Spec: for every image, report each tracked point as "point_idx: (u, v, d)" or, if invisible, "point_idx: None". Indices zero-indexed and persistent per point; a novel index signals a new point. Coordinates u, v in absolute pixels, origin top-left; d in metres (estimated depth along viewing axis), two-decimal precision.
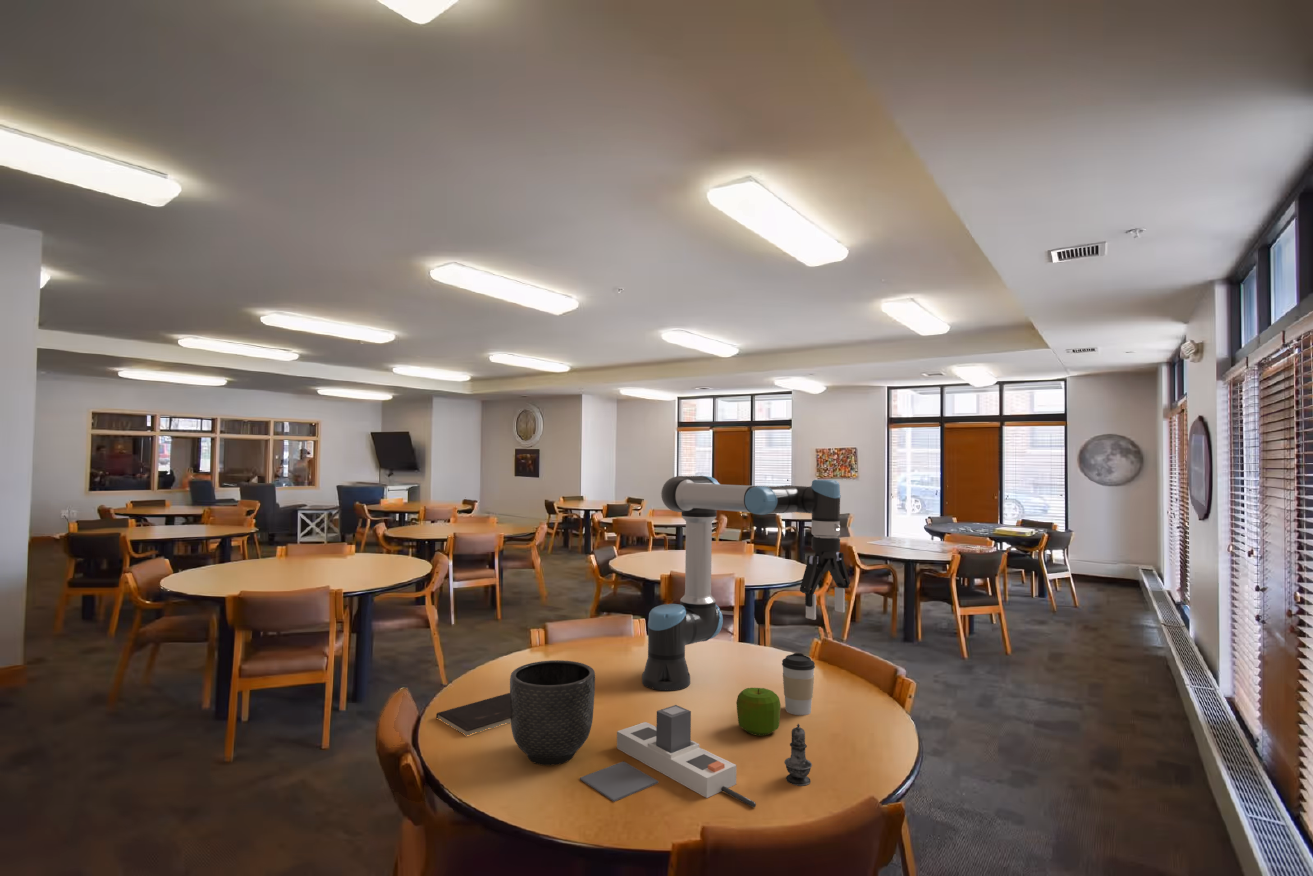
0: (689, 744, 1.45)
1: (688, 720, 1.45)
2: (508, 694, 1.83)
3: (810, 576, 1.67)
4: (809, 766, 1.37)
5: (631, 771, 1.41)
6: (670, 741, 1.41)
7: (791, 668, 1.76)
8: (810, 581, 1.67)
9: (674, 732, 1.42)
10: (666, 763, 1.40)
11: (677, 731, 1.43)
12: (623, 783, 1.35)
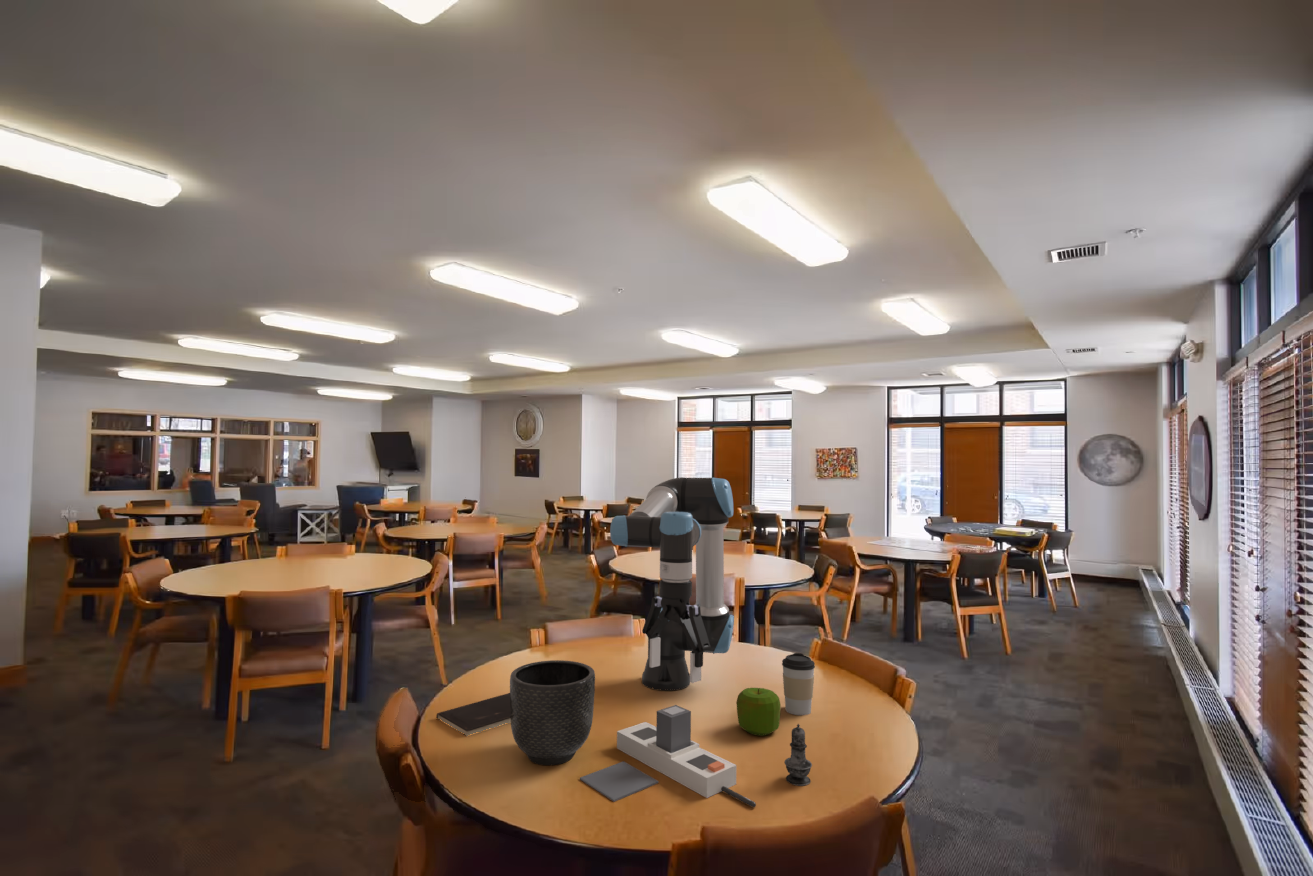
0: (689, 744, 1.45)
1: (688, 720, 1.45)
2: (508, 694, 1.83)
3: None
4: (809, 766, 1.37)
5: (631, 771, 1.41)
6: (670, 741, 1.41)
7: (791, 668, 1.76)
8: (646, 622, 1.52)
9: (674, 732, 1.42)
10: (666, 763, 1.40)
11: (677, 731, 1.43)
12: (623, 783, 1.35)
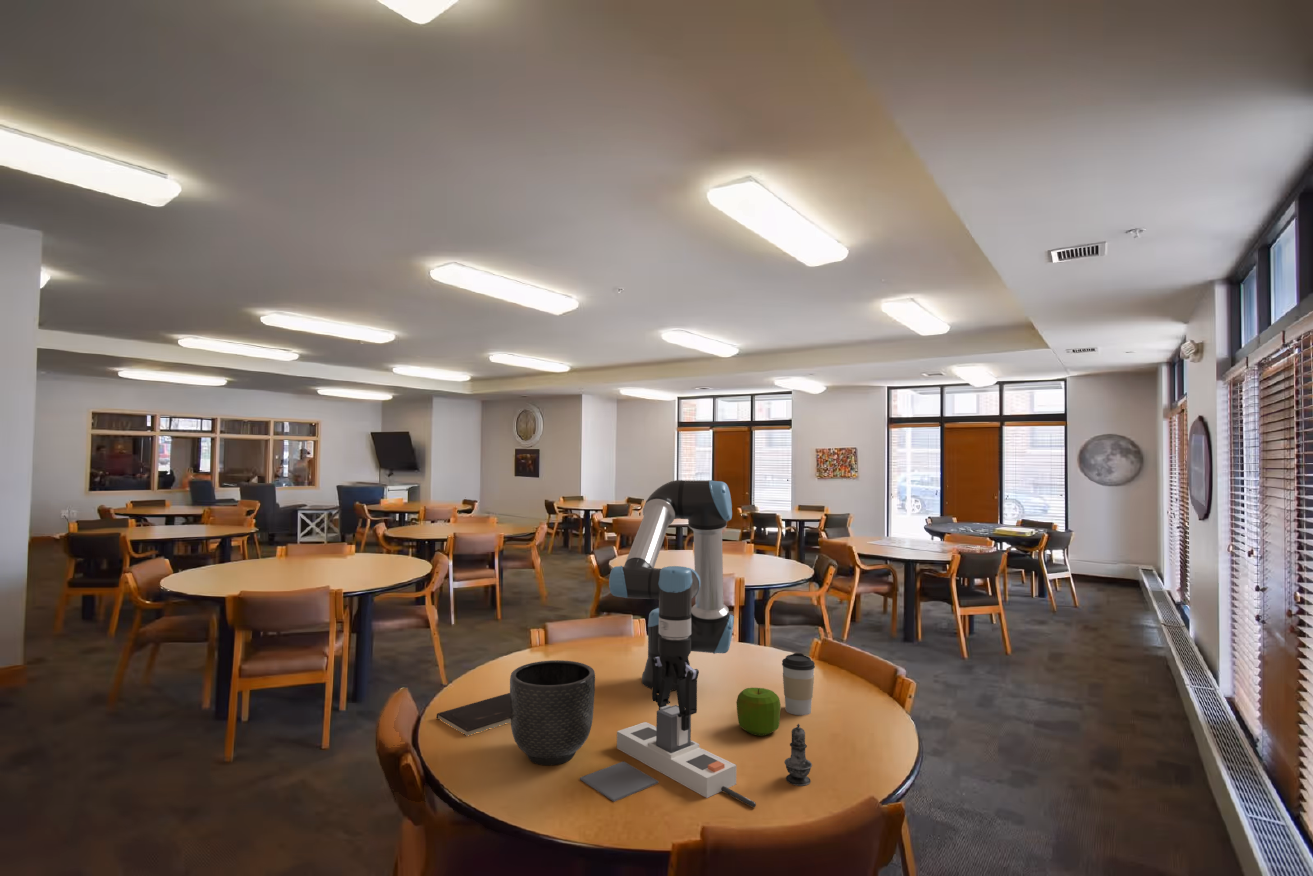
0: (689, 744, 1.45)
1: None
2: (508, 694, 1.83)
3: None
4: (809, 766, 1.37)
5: (631, 771, 1.41)
6: (670, 741, 1.41)
7: (791, 668, 1.76)
8: (653, 687, 1.49)
9: (674, 732, 1.42)
10: (666, 763, 1.40)
11: None
12: (623, 783, 1.35)
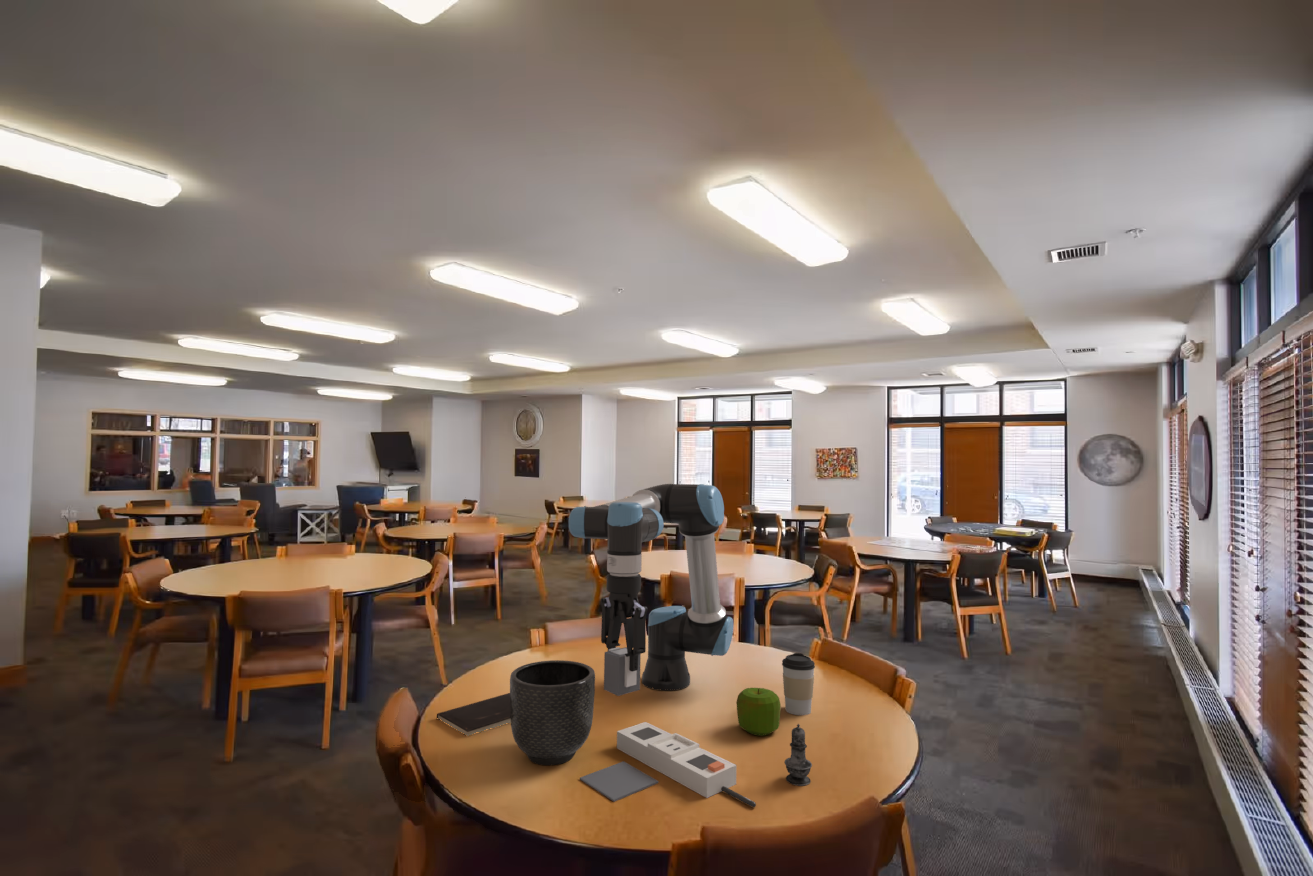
0: (638, 687, 1.38)
1: None
2: (508, 694, 1.83)
3: None
4: (809, 766, 1.37)
5: (631, 771, 1.41)
6: (617, 682, 1.34)
7: (791, 668, 1.76)
8: (602, 629, 1.42)
9: (621, 673, 1.35)
10: (666, 763, 1.40)
11: None
12: (623, 783, 1.35)
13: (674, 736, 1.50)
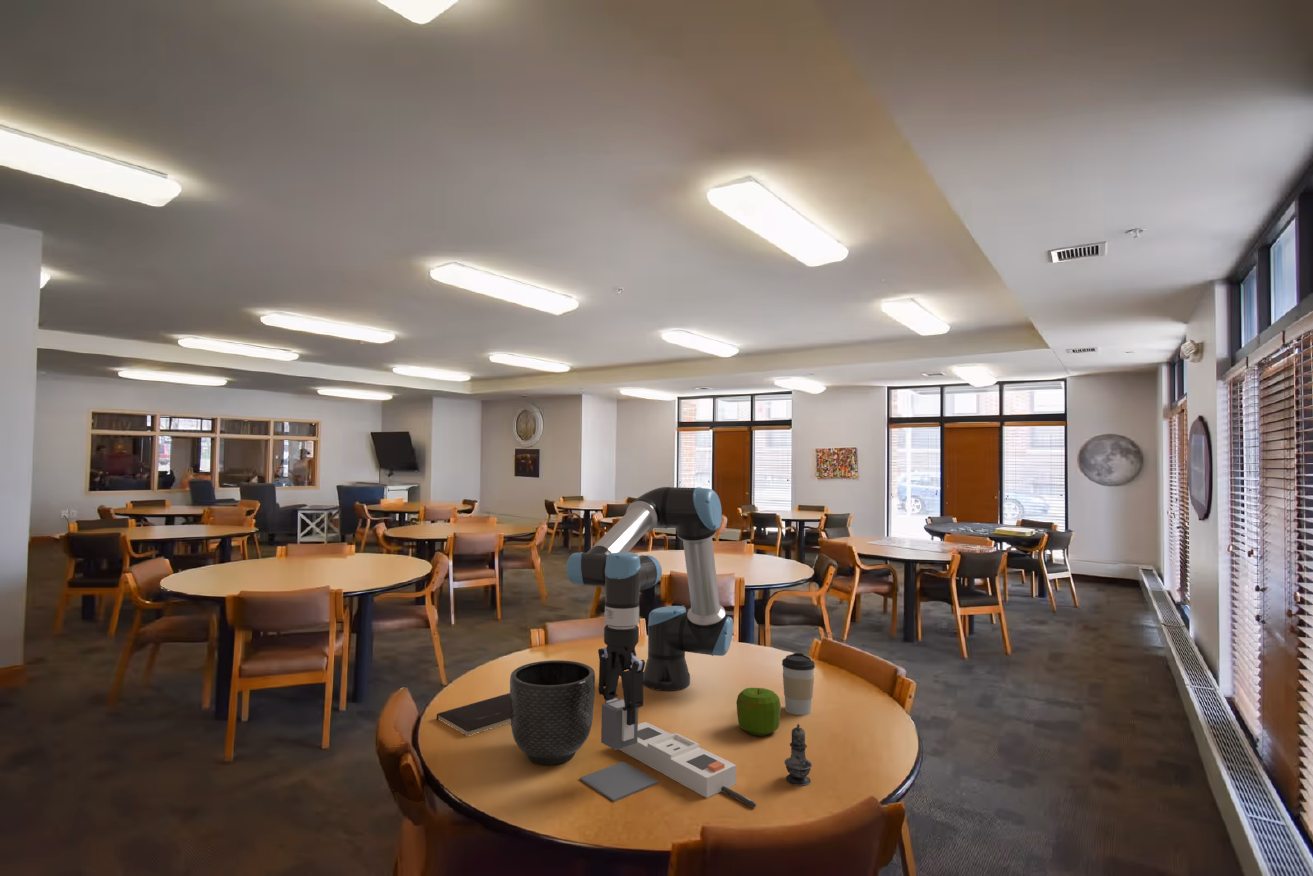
0: (636, 739, 1.37)
1: None
2: (508, 694, 1.83)
3: None
4: (809, 766, 1.37)
5: (631, 771, 1.41)
6: (614, 736, 1.34)
7: (791, 668, 1.76)
8: (599, 680, 1.41)
9: (619, 726, 1.34)
10: (666, 763, 1.40)
11: None
12: (623, 783, 1.35)
13: (674, 736, 1.50)
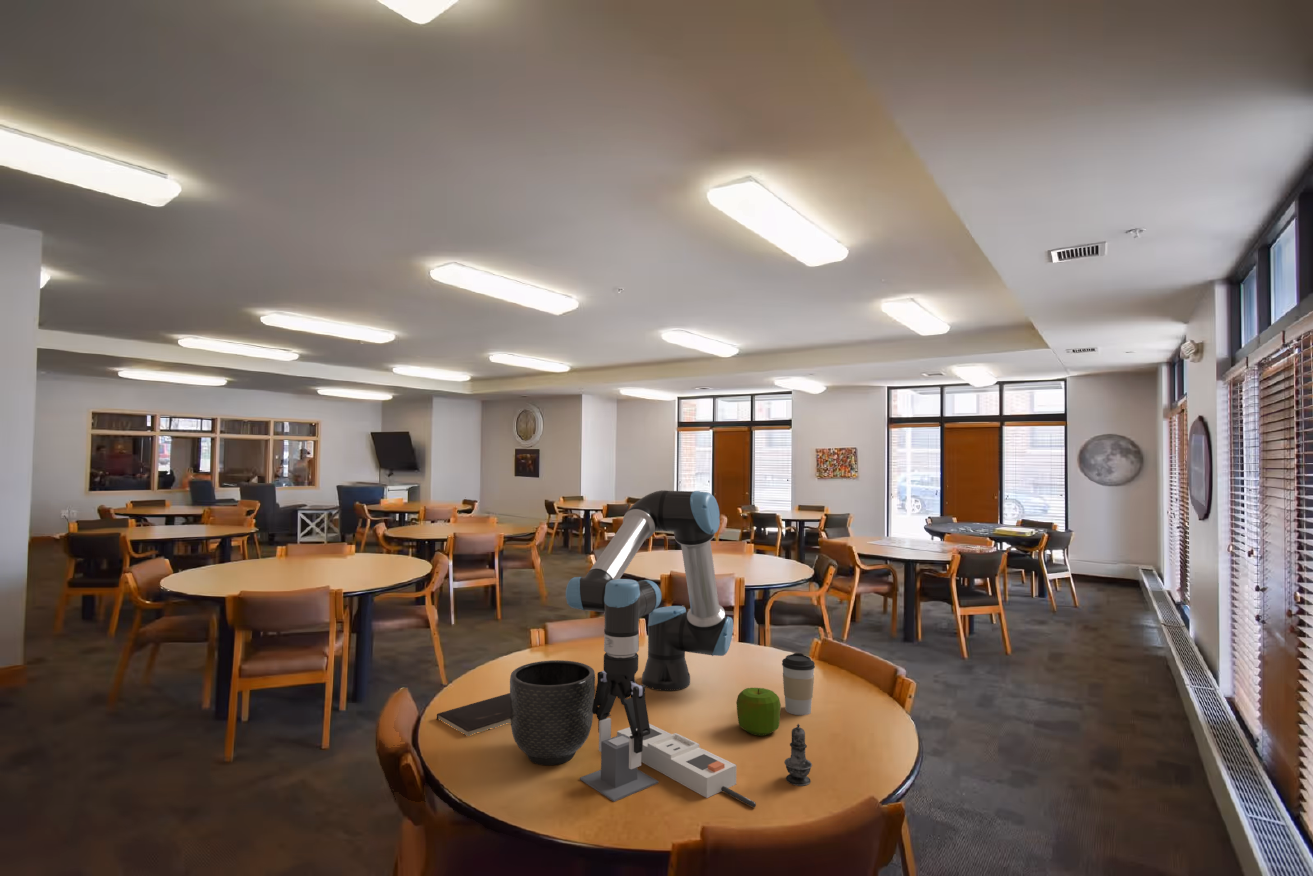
0: (636, 776, 1.37)
1: None
2: (508, 694, 1.83)
3: None
4: (809, 766, 1.37)
5: None
6: (614, 774, 1.34)
7: (791, 668, 1.76)
8: (594, 700, 1.43)
9: (618, 764, 1.34)
10: (666, 763, 1.40)
11: (622, 763, 1.35)
12: None
13: (674, 736, 1.50)
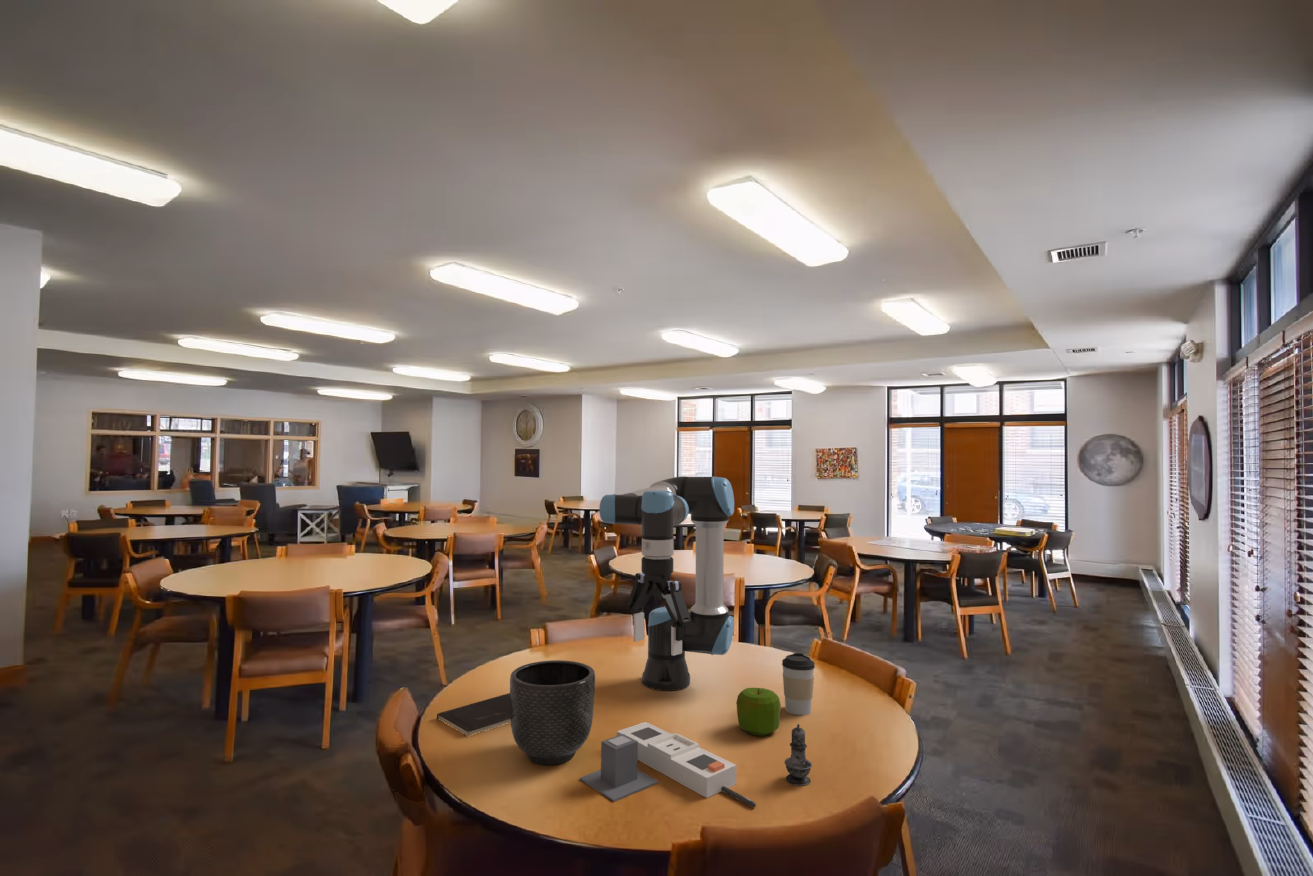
0: (636, 776, 1.37)
1: (634, 751, 1.37)
2: (508, 694, 1.83)
3: None
4: (809, 766, 1.37)
5: None
6: (614, 774, 1.34)
7: (791, 668, 1.76)
8: (630, 597, 1.56)
9: (618, 764, 1.34)
10: (666, 763, 1.40)
11: (622, 763, 1.35)
12: None
13: (674, 736, 1.50)
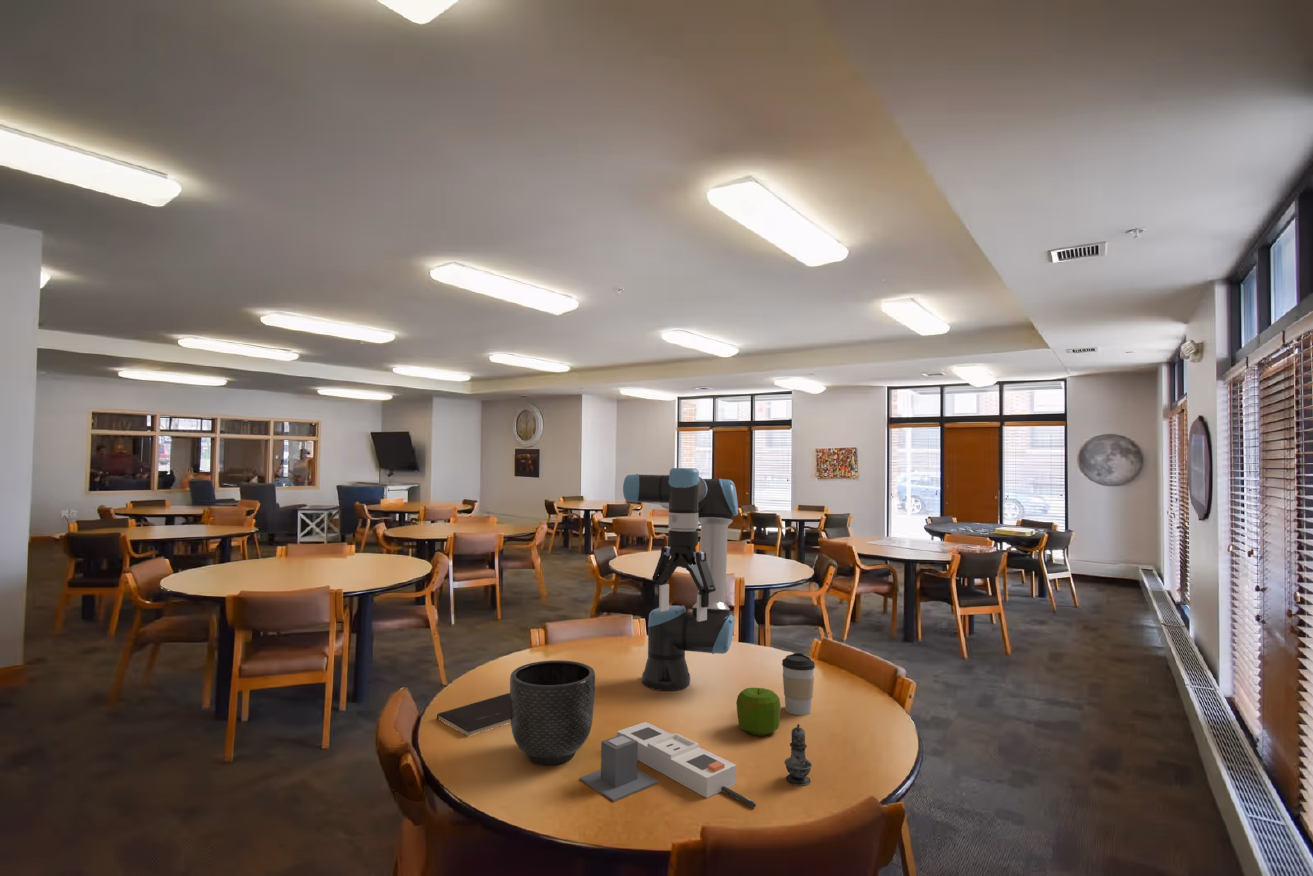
0: (636, 776, 1.37)
1: (634, 751, 1.37)
2: (508, 694, 1.83)
3: None
4: (809, 766, 1.37)
5: None
6: (614, 774, 1.34)
7: (791, 668, 1.76)
8: (656, 570, 1.65)
9: (618, 764, 1.34)
10: (666, 763, 1.40)
11: (622, 763, 1.35)
12: None
13: (674, 736, 1.50)
